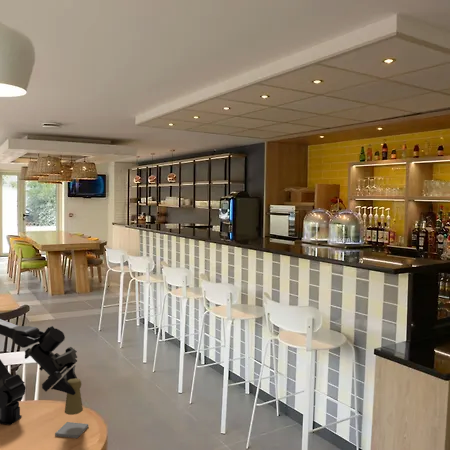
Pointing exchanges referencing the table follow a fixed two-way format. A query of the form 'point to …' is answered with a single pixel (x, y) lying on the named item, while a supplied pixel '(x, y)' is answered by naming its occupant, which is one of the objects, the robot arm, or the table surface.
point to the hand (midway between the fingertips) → (77, 390)
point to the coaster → (71, 430)
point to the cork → (74, 398)
